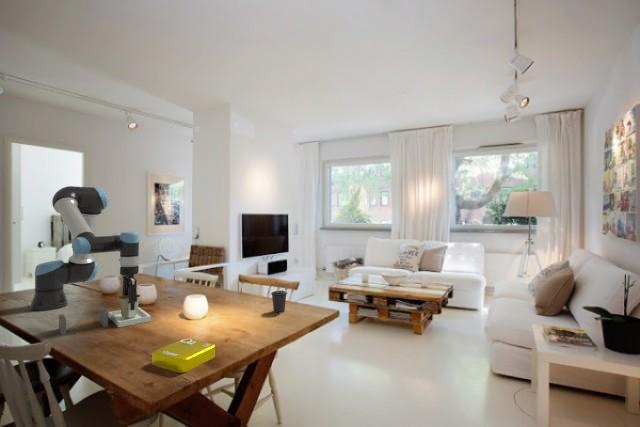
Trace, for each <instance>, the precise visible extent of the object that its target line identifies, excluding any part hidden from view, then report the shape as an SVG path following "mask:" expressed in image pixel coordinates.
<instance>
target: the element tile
mask: <svg viewBox="0 0 640 427" xmlns="http://www.w3.org/2000/svg"><path fill="white" fill-rule="evenodd" d="M151 357H152V358H151V364H152V366H154V367H158V368H160V369H165V370H168V371H171V372H175V373H177V374H178V373H179V374H181V373H186V372H189V371H191V370H193V369H195V368H197V367H199V366H200V365H203V364H204V363H206V362H208V361H210V360H213V359H214V358H215V357H216V344H214V343H211V342H208V341H202V340H198V339H194V338H188V337H185V338H182V339H180V340H177V341H174V342H173V343H169V344H167V345H165V346H162V347H160V348H157V349H155V350H154V351H152V353H151Z"/></svg>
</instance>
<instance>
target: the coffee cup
mask: <svg viewBox="0 0 640 427" xmlns="http://www.w3.org/2000/svg"><path fill="white" fill-rule="evenodd" d="M270 294H271V298H272V307H273V308H272V309H273V313H275V312H277V314H279V313H278V312H282V313H284V312H285V311H286V310H285V309H286V301H287V294H288V292H287V291H284V290H275V291H272V292H271V293H270Z"/></svg>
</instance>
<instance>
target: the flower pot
mask: <svg viewBox="0 0 640 427" xmlns="http://www.w3.org/2000/svg"><path fill="white" fill-rule="evenodd" d="M141 297H142V295H141V294H137V302H136V314H137V311H138V307H139V303H140V300H141ZM117 300H118V303H119V307H120V310H121V314H122V317H126V316H128V303H127V302H129V295H127V296H125V295H123V296H122V295H120V296H118V297H117ZM132 300H133V299H132Z"/></svg>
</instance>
